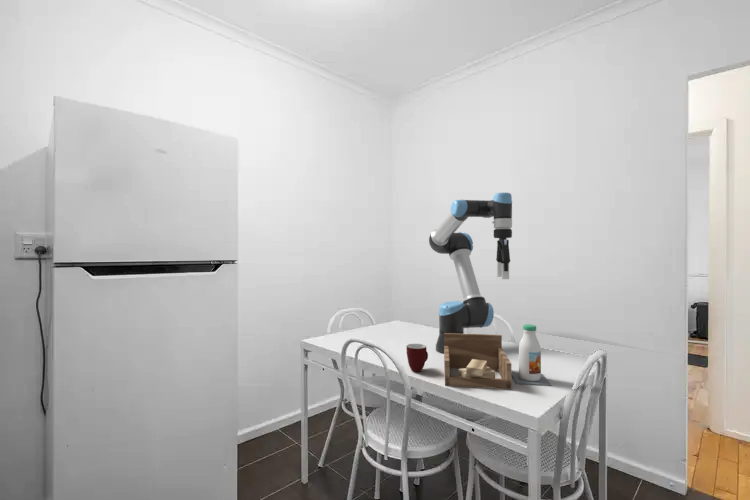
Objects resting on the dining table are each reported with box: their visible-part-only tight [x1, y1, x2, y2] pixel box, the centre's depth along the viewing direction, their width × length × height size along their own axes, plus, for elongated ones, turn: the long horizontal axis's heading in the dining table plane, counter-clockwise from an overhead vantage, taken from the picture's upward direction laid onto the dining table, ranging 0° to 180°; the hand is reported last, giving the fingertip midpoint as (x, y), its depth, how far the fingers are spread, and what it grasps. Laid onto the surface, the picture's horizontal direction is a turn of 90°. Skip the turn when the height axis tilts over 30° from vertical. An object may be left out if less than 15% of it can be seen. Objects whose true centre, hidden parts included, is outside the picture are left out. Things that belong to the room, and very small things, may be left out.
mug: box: [406, 343, 429, 373], centre depth 154 cm, size 10×8×10 cm
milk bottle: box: [518, 324, 542, 381], centre depth 142 cm, size 8×8×20 cm
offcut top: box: [466, 359, 487, 376], centre depth 140 cm, size 6×11×2 cm, turn 155°
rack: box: [443, 333, 513, 390], centre depth 145 cm, size 23×23×14 cm
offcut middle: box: [458, 367, 496, 378], centre depth 140 cm, size 6×12×2 cm, turn 101°
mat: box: [511, 371, 552, 387], centre depth 142 cm, size 12×12×1 cm
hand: (502, 278), depth 162 cm, fingers open, 13 cm apart
